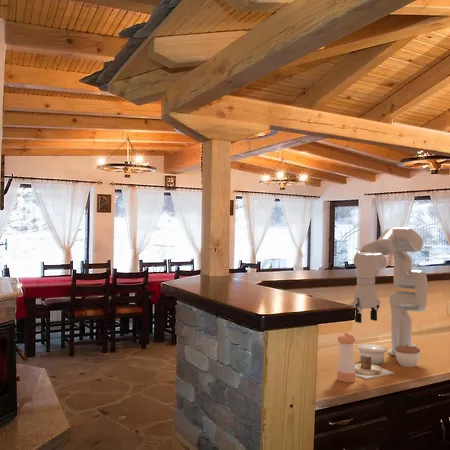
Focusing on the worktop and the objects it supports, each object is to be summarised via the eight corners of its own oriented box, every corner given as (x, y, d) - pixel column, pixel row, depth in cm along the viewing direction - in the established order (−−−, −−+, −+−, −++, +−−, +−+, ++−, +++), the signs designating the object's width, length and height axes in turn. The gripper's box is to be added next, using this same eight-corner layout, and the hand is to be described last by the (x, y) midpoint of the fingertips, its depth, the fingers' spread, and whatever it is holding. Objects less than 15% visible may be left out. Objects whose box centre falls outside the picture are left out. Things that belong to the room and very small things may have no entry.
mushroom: (370, 357, 237) (370, 343, 237) (392, 363, 226) (392, 348, 226) (351, 361, 230) (351, 346, 230) (373, 367, 219) (373, 351, 219)
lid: (364, 364, 221) (364, 351, 221) (389, 372, 209) (389, 357, 209) (342, 369, 214) (342, 354, 214) (367, 376, 202) (367, 361, 202)
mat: (365, 365, 223) (365, 363, 223) (394, 373, 209) (394, 372, 209) (338, 370, 214) (338, 368, 214) (366, 379, 200) (366, 378, 200)
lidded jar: (408, 369, 216) (408, 348, 216) (390, 364, 225) (389, 343, 225) (425, 366, 221) (425, 346, 221) (406, 361, 230) (406, 341, 230)
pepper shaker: (341, 376, 205) (341, 330, 205) (357, 379, 201) (357, 332, 201) (334, 380, 199) (334, 333, 199) (351, 383, 195) (351, 335, 195)
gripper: (372, 280, 220) (373, 318, 220) (345, 282, 211) (345, 321, 211) (386, 281, 214) (386, 320, 214) (358, 283, 205) (358, 324, 204)
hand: (366, 321), depth 212 cm, fingers open, 9 cm apart
